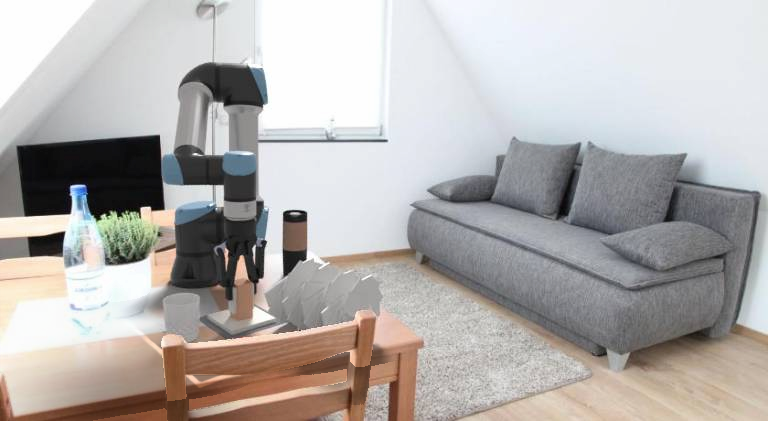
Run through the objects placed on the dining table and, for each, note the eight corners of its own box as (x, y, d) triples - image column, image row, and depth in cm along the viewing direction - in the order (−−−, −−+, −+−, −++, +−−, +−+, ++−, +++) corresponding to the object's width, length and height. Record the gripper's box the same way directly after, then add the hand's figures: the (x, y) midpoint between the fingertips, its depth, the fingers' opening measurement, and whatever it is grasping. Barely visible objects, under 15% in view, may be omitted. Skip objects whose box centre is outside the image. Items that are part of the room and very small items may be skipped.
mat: (196, 321, 138) (195, 318, 138) (252, 306, 149) (252, 303, 149) (228, 343, 127) (228, 340, 127) (287, 325, 138) (287, 322, 138)
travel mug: (294, 268, 181) (295, 208, 177) (311, 273, 177) (312, 212, 173) (277, 274, 175) (277, 212, 171) (294, 279, 171) (295, 216, 167)
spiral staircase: (301, 331, 145) (379, 355, 130) (252, 322, 131) (333, 348, 116) (320, 262, 148) (398, 279, 133) (275, 246, 134) (356, 263, 119)
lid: (207, 318, 138) (206, 280, 136) (250, 307, 146) (249, 270, 144) (231, 334, 130) (231, 294, 127) (275, 321, 138) (275, 283, 136)
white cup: (189, 349, 123) (188, 307, 121) (157, 345, 125) (155, 303, 123) (207, 335, 131) (206, 294, 129) (176, 331, 132) (175, 291, 130)
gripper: (214, 225, 124) (216, 323, 129) (279, 215, 136) (279, 306, 140) (198, 218, 129) (201, 313, 134) (262, 210, 141) (263, 297, 146)
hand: (241, 309), depth 137 cm, fingers closed on lid, 4 cm apart
